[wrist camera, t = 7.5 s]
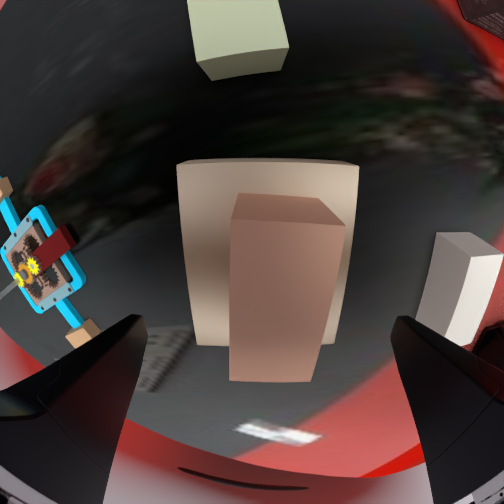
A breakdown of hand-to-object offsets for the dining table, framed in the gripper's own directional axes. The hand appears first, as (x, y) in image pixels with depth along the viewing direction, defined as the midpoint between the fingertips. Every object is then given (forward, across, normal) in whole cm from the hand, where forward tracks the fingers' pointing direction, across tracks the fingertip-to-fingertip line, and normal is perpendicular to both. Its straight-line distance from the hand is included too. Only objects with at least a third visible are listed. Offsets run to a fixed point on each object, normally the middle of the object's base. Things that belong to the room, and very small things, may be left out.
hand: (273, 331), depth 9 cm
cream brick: (+7, -13, +2) cm, 15 cm away
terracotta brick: (+5, 0, 0) cm, 5 cm away
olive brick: (+7, +2, -13) cm, 15 cm away
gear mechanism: (+8, +16, +1) cm, 18 cm away
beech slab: (+8, 0, 0) cm, 8 cm away
